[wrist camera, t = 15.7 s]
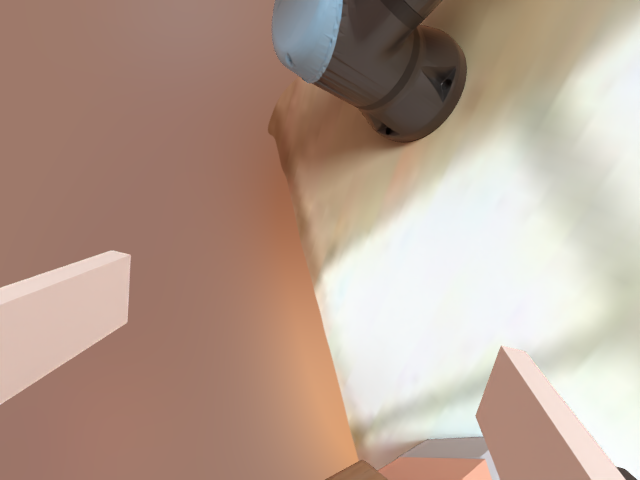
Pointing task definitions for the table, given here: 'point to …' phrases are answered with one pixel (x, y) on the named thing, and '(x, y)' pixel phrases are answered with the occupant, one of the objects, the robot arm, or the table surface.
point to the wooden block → (358, 473)
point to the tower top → (436, 469)
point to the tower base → (455, 450)
